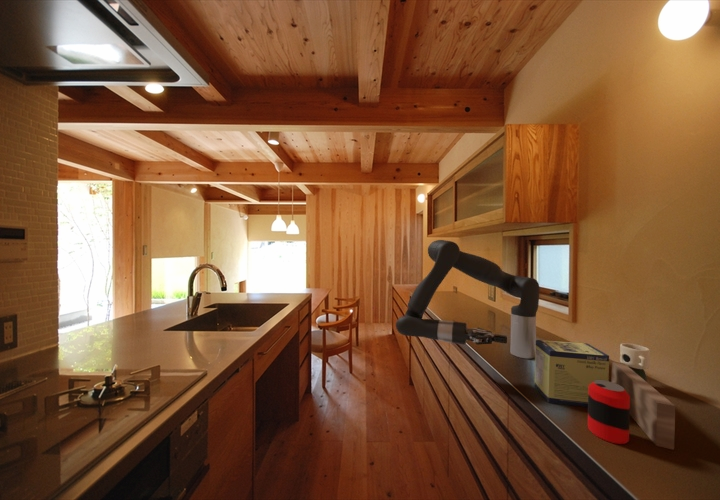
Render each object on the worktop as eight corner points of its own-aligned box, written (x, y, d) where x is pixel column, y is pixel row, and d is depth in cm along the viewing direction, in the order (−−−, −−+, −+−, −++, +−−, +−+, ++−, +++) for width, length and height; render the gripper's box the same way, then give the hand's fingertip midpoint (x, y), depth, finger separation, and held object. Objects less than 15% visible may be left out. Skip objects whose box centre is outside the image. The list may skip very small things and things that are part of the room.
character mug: (612, 376, 100) (613, 340, 100) (638, 380, 97) (638, 343, 97) (629, 391, 90) (630, 350, 89) (658, 395, 87) (659, 354, 87)
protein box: (609, 410, 79) (610, 355, 79) (547, 403, 82) (549, 350, 82) (587, 391, 89) (588, 343, 89) (533, 386, 92) (534, 339, 92)
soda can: (579, 424, 72) (580, 378, 72) (607, 423, 72) (608, 377, 72) (607, 445, 64) (609, 393, 64) (638, 444, 65) (639, 393, 65)
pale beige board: (611, 393, 88) (611, 361, 88) (623, 395, 87) (624, 363, 87) (656, 445, 64) (657, 402, 64) (674, 449, 63) (675, 405, 63)
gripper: (450, 325, 93) (508, 333, 86) (454, 317, 105) (506, 323, 98) (449, 348, 94) (507, 357, 86) (454, 337, 106) (505, 345, 98)
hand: (506, 339), depth 92 cm, fingers closed
